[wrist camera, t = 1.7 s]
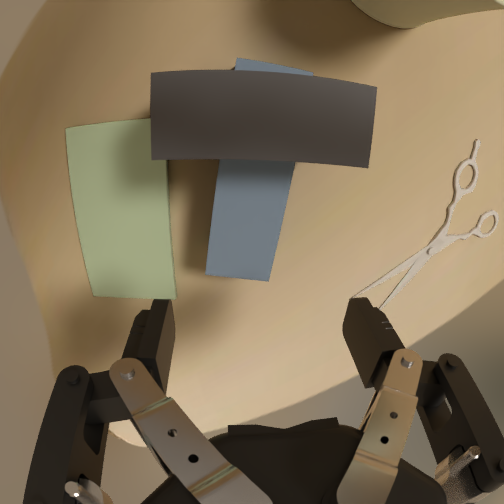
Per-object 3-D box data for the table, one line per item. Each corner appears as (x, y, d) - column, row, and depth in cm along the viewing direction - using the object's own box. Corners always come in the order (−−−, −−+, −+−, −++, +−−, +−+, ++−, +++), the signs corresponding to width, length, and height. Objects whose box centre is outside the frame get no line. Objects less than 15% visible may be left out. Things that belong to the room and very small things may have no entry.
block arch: (181, 82, 18) (150, 72, 11) (324, 89, 19) (376, 87, 12) (180, 137, 20) (151, 160, 13) (320, 142, 21) (368, 168, 14)
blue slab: (235, 66, 18) (236, 57, 14) (297, 77, 19) (313, 72, 15) (208, 245, 25) (205, 274, 21) (262, 251, 25) (268, 281, 21)
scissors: (508, 214, 25) (384, 335, 30) (503, 211, 25) (382, 330, 31) (478, 138, 21) (330, 283, 26) (473, 136, 21) (327, 279, 27)
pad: (69, 127, 19) (65, 128, 18) (166, 117, 19) (165, 117, 19) (95, 292, 26) (93, 296, 25) (177, 295, 26) (176, 299, 26)
